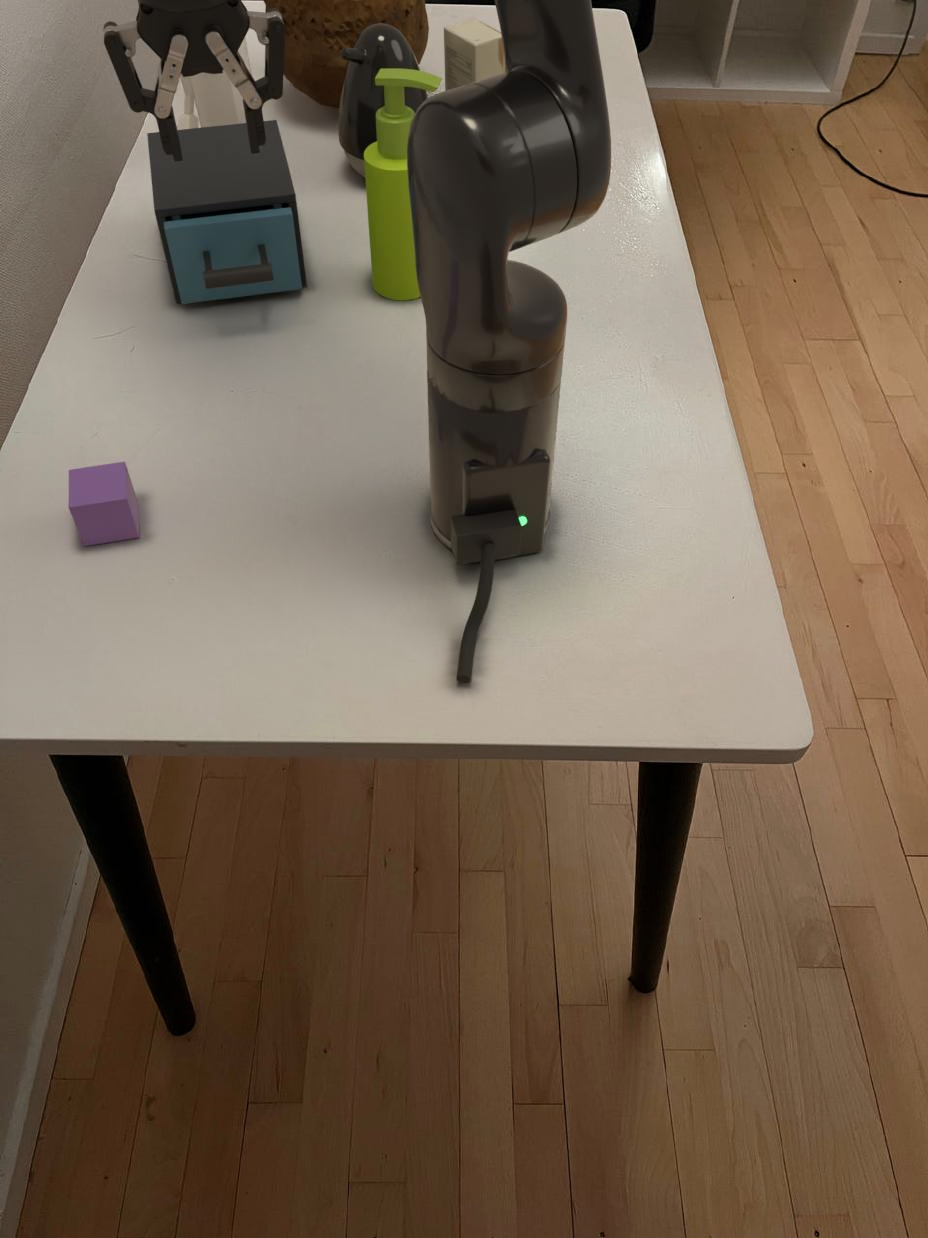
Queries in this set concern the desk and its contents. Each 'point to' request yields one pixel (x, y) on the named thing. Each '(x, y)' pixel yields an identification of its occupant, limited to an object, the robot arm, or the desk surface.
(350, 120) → the black penguin figurine
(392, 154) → the soap dispenser
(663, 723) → the desk surface
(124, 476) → the lilac foam cube
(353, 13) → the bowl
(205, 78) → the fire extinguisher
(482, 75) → the cosmetic box
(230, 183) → the dark grey box
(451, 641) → the desk surface
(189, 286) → the drawer
